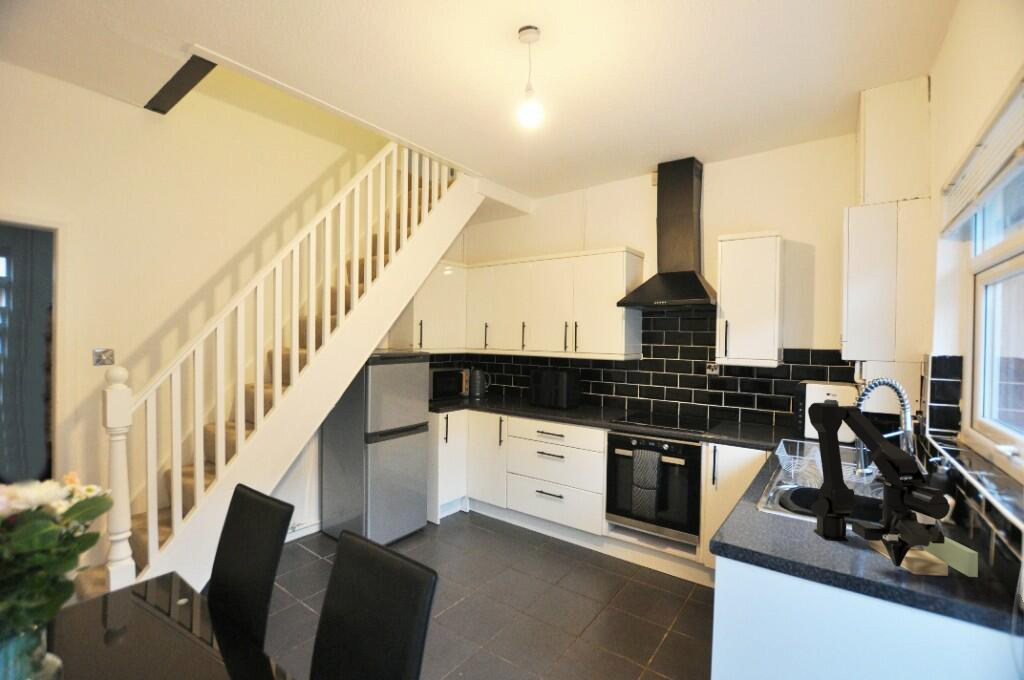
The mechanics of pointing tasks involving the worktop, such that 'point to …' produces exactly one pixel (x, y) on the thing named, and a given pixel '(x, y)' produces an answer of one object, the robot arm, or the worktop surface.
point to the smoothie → (924, 518)
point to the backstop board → (955, 556)
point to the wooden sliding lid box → (917, 560)
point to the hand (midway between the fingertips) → (896, 565)
